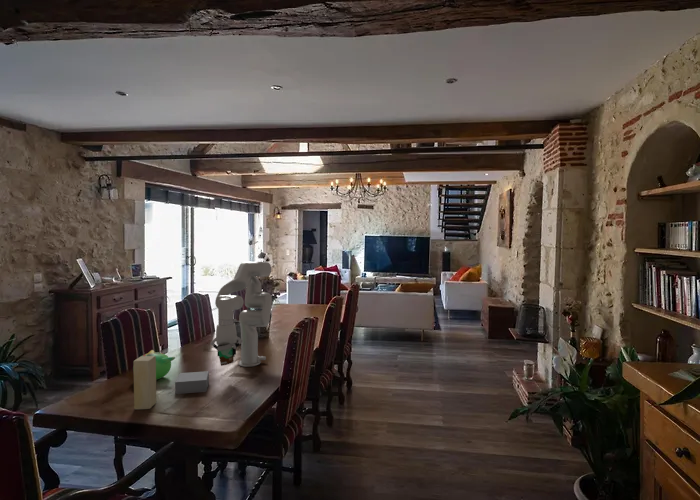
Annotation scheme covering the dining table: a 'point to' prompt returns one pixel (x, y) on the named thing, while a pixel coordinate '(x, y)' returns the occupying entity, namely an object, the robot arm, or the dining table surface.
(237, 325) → the planter
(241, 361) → the robot arm
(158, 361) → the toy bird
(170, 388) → the dining table surface
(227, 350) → the food container
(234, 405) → the dining table surface
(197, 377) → the grey block
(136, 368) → the beige tall block
